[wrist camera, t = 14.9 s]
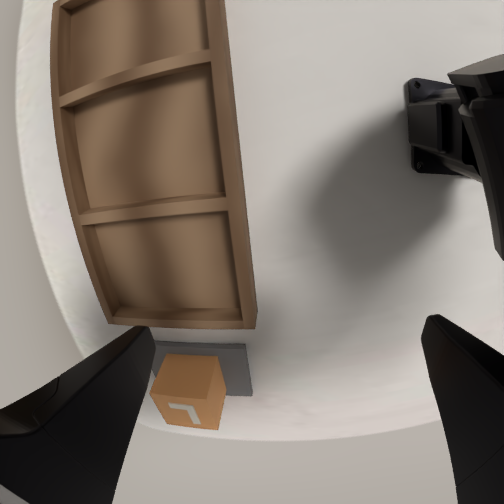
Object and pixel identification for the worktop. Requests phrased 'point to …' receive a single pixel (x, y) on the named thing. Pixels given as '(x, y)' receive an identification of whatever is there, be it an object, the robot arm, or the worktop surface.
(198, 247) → the organiser
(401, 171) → the worktop surface
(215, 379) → the letter cube
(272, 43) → the worktop surface
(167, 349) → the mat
